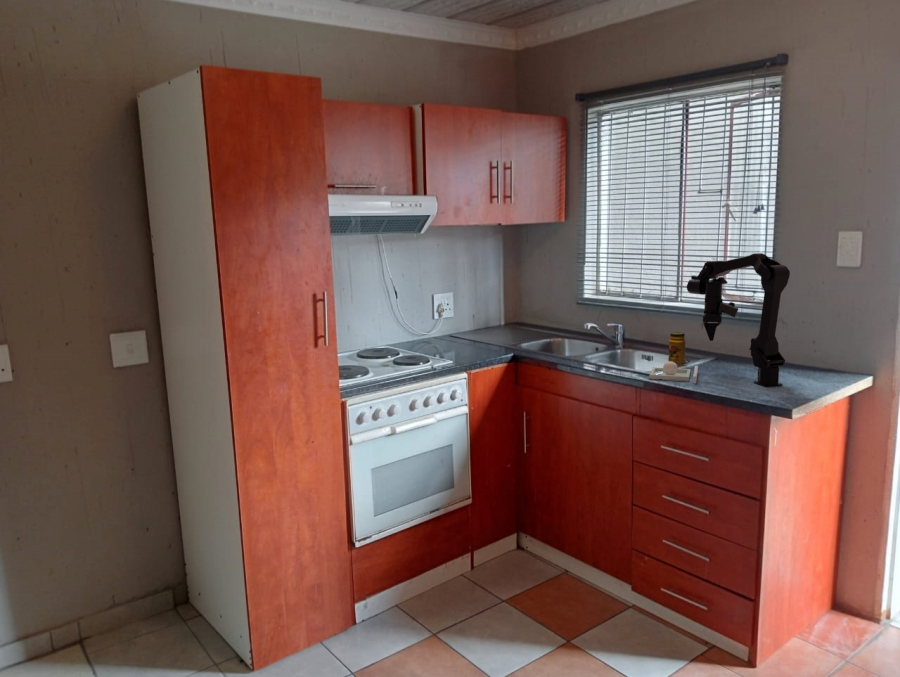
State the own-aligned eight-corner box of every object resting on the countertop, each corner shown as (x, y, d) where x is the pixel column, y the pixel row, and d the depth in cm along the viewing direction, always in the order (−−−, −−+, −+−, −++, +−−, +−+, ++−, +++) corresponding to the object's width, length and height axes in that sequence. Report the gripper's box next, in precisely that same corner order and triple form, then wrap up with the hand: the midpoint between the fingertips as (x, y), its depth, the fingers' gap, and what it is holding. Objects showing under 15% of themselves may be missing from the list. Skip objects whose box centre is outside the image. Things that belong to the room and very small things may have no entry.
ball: (680, 376, 241) (680, 362, 240) (667, 377, 240) (667, 363, 239) (672, 373, 246) (673, 359, 245) (660, 374, 245) (660, 360, 244)
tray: (688, 381, 235) (688, 377, 235) (649, 379, 240) (649, 374, 239) (690, 373, 247) (690, 369, 247) (652, 371, 252) (653, 367, 251)
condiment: (666, 364, 263) (667, 334, 261) (668, 360, 270) (669, 330, 268) (686, 366, 260) (687, 335, 258) (688, 361, 267) (689, 331, 265)
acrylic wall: (696, 383, 232) (696, 376, 231) (693, 383, 232) (693, 376, 232) (697, 372, 248) (698, 365, 248) (694, 372, 249) (695, 365, 248)
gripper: (738, 299, 234) (736, 344, 237) (737, 293, 251) (735, 335, 254) (703, 298, 238) (701, 342, 241) (704, 293, 256) (703, 334, 258)
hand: (711, 338), depth 248 cm, fingers open, 9 cm apart
